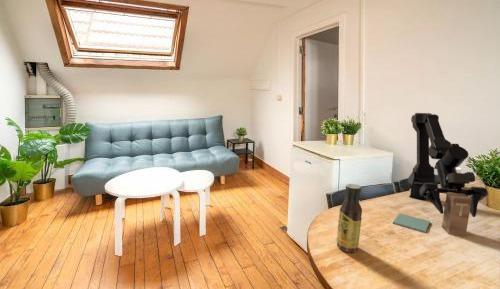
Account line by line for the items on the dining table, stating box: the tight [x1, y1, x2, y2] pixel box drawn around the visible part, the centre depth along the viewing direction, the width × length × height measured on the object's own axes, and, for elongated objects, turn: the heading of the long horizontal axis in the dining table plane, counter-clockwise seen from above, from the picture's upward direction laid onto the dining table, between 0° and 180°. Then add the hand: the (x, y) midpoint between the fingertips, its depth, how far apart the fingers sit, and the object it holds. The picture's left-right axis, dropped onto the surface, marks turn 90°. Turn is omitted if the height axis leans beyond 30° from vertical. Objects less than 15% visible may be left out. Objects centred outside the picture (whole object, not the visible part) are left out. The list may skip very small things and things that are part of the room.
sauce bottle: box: [336, 183, 363, 253], centre depth 78 cm, size 6×6×20 cm
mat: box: [392, 212, 431, 234], centre depth 96 cm, size 10×10×1 cm
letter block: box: [441, 192, 472, 237], centre depth 89 cm, size 5×5×13 cm
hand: (458, 214), depth 88 cm, fingers open, 9 cm apart
